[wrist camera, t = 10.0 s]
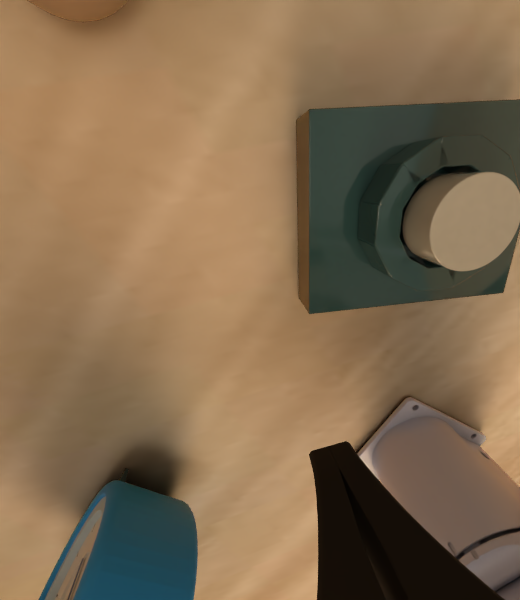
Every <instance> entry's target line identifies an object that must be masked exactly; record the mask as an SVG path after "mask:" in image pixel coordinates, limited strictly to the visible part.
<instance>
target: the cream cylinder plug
mask: <svg viewBox="0 0 520 600" xmlns="http://www.w3.org/2000/svg"><path fill="white" fill-rule="evenodd" d="M519 223H520V193H519V190H518V188H517V186H516V185H515V184H514V182H513V181H512V180H510V179H509V178H508V177H506V176H505V175H503V174H500V173H496V172H464V173H447V174H442V175H439V176H437V177H435V178H433V179H431V180H429V181H428V182H426V183H425V184H424V185H423V186H422V187H420V188H419V189H418V191H417V192H416V193H415V194H414V195H413V197H412V198H411V200H410V202H409V204H408V205H407V208H406V210H405V214H404V217H403V225H402V230H403V237H404V240H405V243H406V245H407V247H408V248H409V249H410V251H411V252H412V253H413V254H414V255H416V256H417V257H419V258H422V259H424V260H427V261H429V262H432V263H434V264H437V265H440V266H442V267H445V268H447V269H450V270H454V271H470V270H475V269H478V268H480V267H483V266H485V265H486V264H488V263H490V262H491V261H493V260H494V259H495V258H497V257H498V256H499V255H500V254H501V253H502V252H503V251H504V250H505V249H506V247H507V246H508V245H509V243H510V242H511V241H512V239H513V237H514V235H515V234H516V231H517V229H518V226H519Z"/></svg>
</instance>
